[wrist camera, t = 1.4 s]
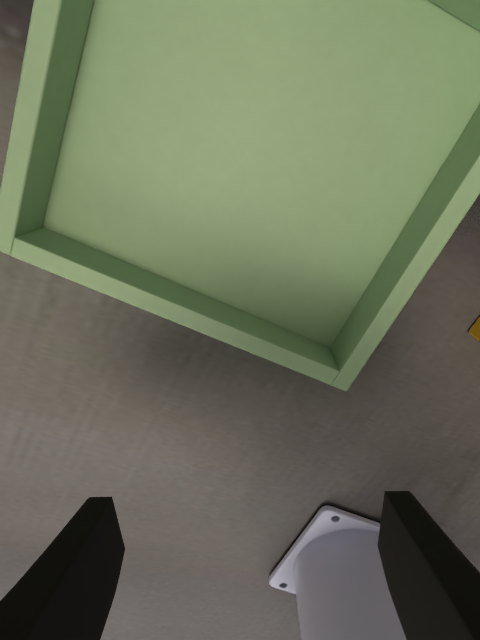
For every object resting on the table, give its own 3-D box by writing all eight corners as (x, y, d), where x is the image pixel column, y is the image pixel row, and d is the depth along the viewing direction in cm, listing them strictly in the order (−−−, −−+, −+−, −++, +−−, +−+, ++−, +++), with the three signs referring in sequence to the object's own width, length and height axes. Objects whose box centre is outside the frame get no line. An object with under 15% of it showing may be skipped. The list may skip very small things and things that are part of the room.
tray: (535, 41, 14) (598, 16, 11) (334, 361, 19) (346, 392, 17) (122, -211, 11) (87, -312, 9) (26, 233, 17) (-12, 247, 14)
